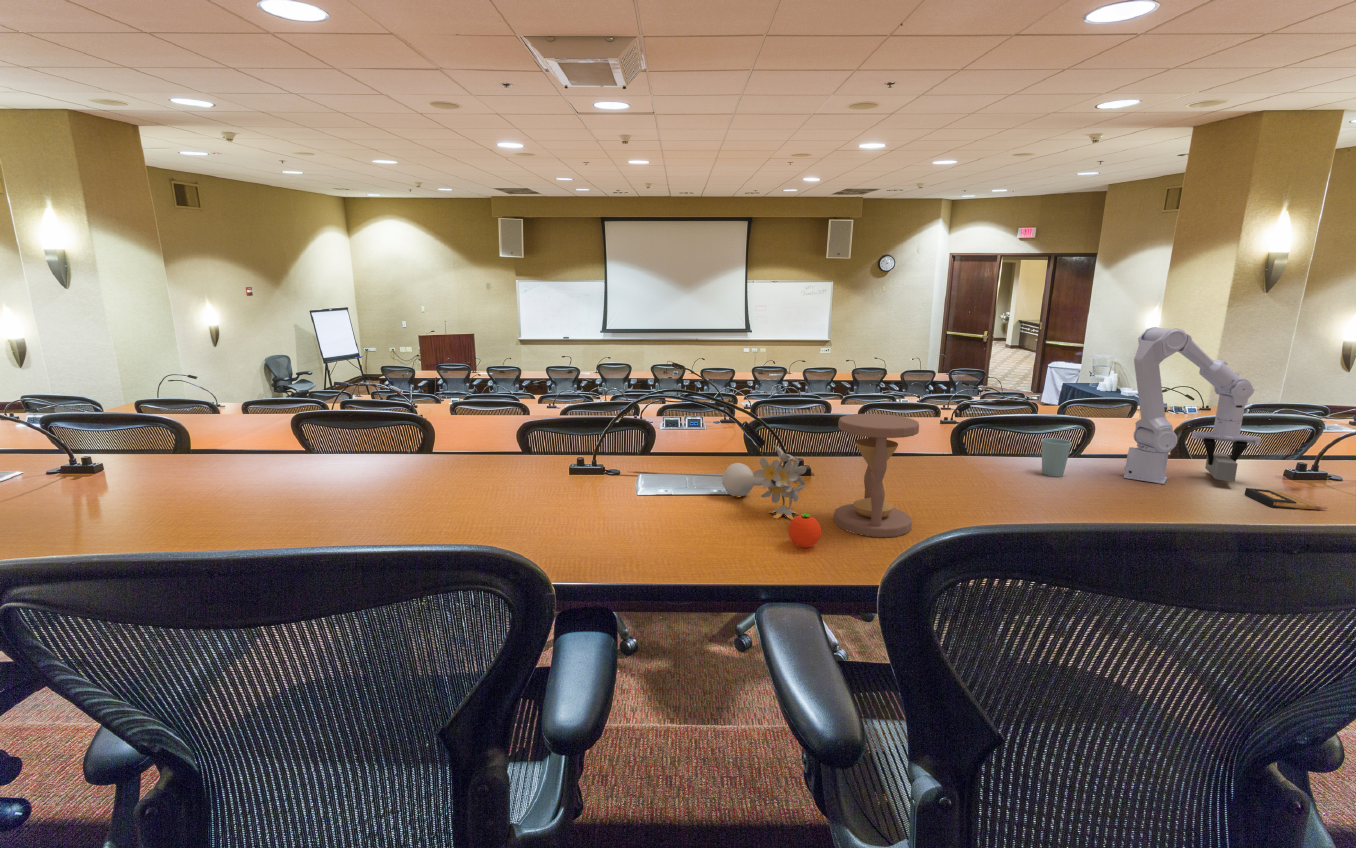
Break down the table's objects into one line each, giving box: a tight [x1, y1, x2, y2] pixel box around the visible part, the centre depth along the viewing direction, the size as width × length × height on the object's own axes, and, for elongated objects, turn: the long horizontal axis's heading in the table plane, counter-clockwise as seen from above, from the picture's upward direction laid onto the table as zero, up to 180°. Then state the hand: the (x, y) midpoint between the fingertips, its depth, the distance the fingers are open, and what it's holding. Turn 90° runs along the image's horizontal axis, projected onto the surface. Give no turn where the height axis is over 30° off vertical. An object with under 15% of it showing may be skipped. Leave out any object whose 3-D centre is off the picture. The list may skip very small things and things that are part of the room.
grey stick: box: [1204, 451, 1239, 482], centre depth 174 cm, size 4×18×5 cm, turn 146°
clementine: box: [787, 513, 822, 549], centre depth 129 cm, size 8×7×7 cm
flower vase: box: [721, 445, 807, 515], centre depth 154 cm, size 13×18×25 cm
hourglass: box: [833, 413, 920, 538], centre depth 139 cm, size 18×18×25 cm
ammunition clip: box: [1244, 487, 1328, 510], centre depth 155 cm, size 11×2×12 cm
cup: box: [1041, 437, 1072, 478], centre depth 181 cm, size 8×8×10 cm
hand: (1220, 465), depth 174 cm, fingers closed on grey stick, 4 cm apart
